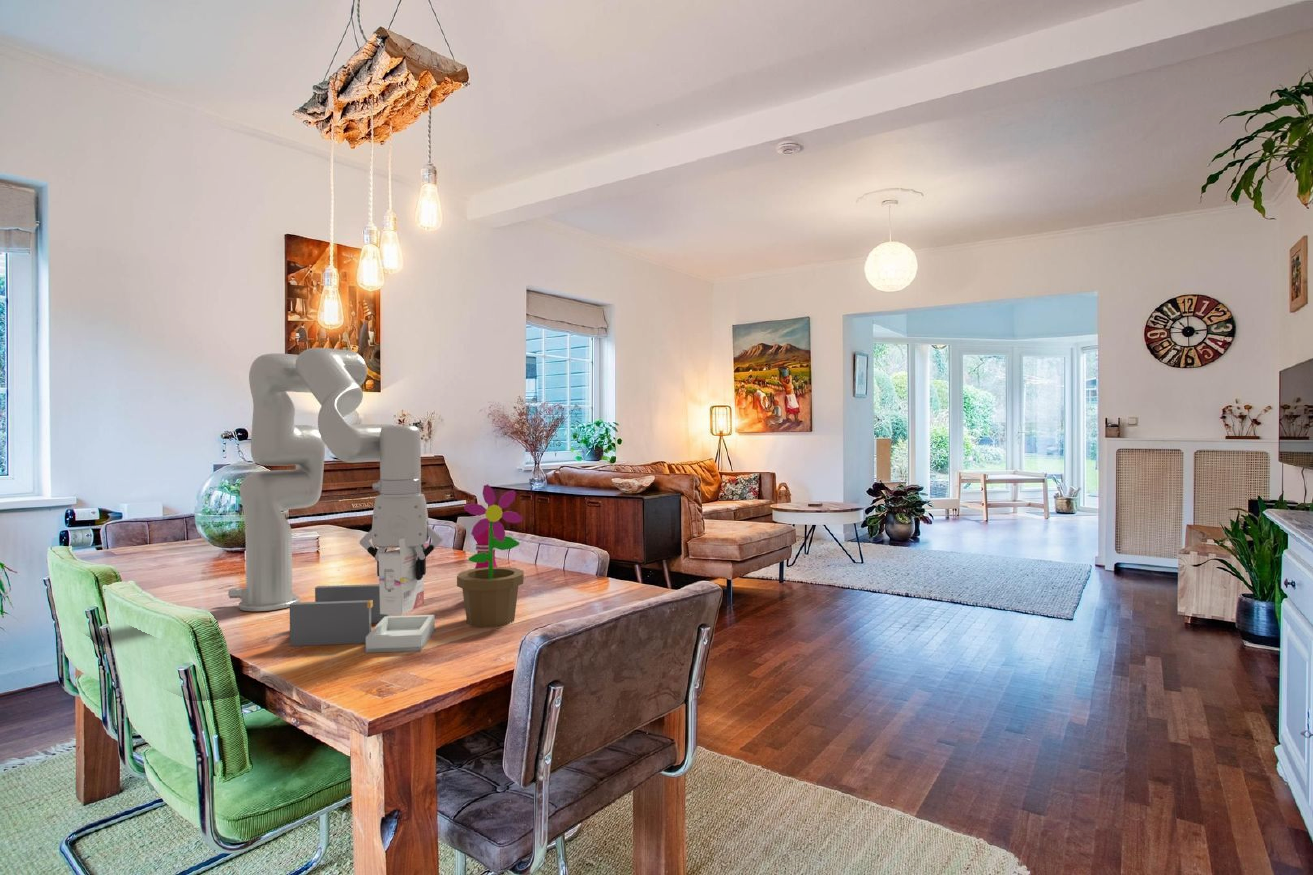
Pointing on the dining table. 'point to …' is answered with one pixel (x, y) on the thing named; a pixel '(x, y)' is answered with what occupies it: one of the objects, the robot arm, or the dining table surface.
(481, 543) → the pepper mill
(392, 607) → the ink cartridge box
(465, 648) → the dining table surface
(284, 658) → the dining table surface
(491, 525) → the flowerpot
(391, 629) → the tray
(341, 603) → the bay
